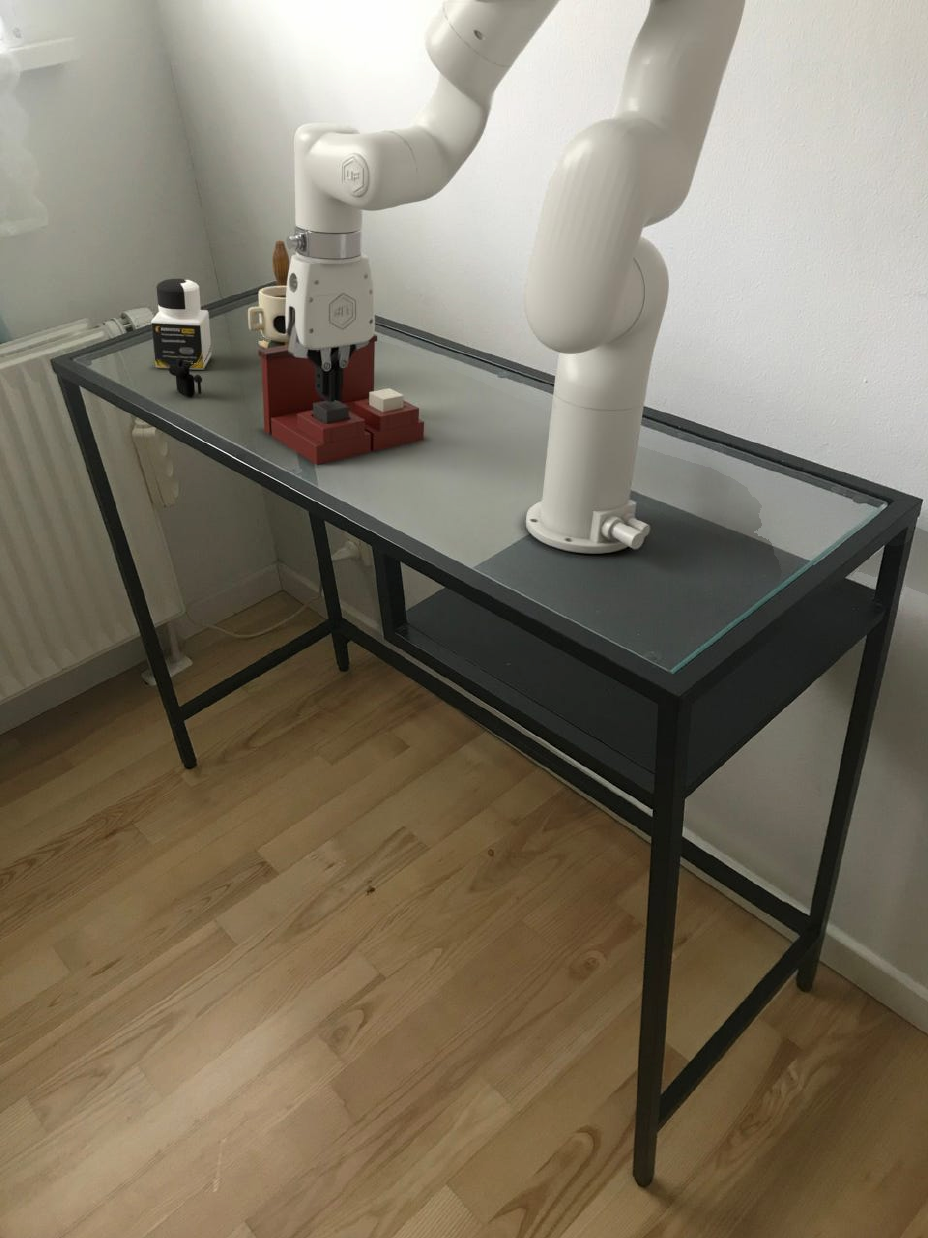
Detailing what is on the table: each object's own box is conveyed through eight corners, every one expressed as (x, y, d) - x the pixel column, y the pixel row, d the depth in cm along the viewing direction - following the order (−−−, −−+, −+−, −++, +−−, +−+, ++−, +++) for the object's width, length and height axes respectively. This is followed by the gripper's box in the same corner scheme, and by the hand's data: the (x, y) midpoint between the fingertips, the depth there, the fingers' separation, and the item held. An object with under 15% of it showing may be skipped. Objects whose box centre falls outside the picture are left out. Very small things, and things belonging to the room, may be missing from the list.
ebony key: (348, 421, 130) (348, 406, 129) (327, 426, 128) (326, 411, 127) (334, 413, 132) (334, 398, 131) (313, 418, 130) (312, 403, 129)
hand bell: (300, 354, 164) (297, 249, 156) (250, 348, 166) (245, 243, 157) (317, 339, 171) (315, 238, 163) (269, 333, 173) (265, 233, 164)
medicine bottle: (155, 368, 155) (147, 286, 148) (165, 353, 161) (157, 274, 154) (203, 370, 155) (197, 288, 149) (211, 356, 161) (206, 276, 155)
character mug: (260, 393, 148) (256, 301, 141) (242, 378, 153) (238, 288, 146) (331, 384, 153) (330, 294, 146) (311, 369, 158) (309, 282, 152)
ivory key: (403, 409, 134) (404, 395, 133) (383, 414, 133) (383, 399, 132) (389, 402, 136) (389, 387, 135) (369, 406, 135) (369, 391, 134)
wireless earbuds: (206, 400, 145) (203, 364, 142) (191, 404, 143) (188, 368, 140) (175, 387, 148) (172, 352, 146) (160, 390, 147) (157, 355, 144)
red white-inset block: (424, 439, 137) (425, 406, 135) (373, 451, 132) (374, 417, 130) (376, 413, 144) (376, 381, 142) (326, 424, 140) (326, 391, 137)
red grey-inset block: (371, 452, 132) (371, 418, 130) (317, 465, 128) (316, 430, 125) (324, 424, 139) (323, 392, 137) (271, 436, 135) (270, 402, 133)
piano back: (376, 412, 144) (377, 335, 139) (269, 435, 135) (265, 353, 129) (368, 408, 146) (369, 331, 140) (261, 430, 136) (257, 349, 131)
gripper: (288, 256, 112) (292, 418, 122) (401, 244, 121) (396, 397, 130) (254, 241, 117) (260, 398, 127) (364, 231, 125) (362, 379, 135)
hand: (329, 397), depth 128 cm, fingers closed
